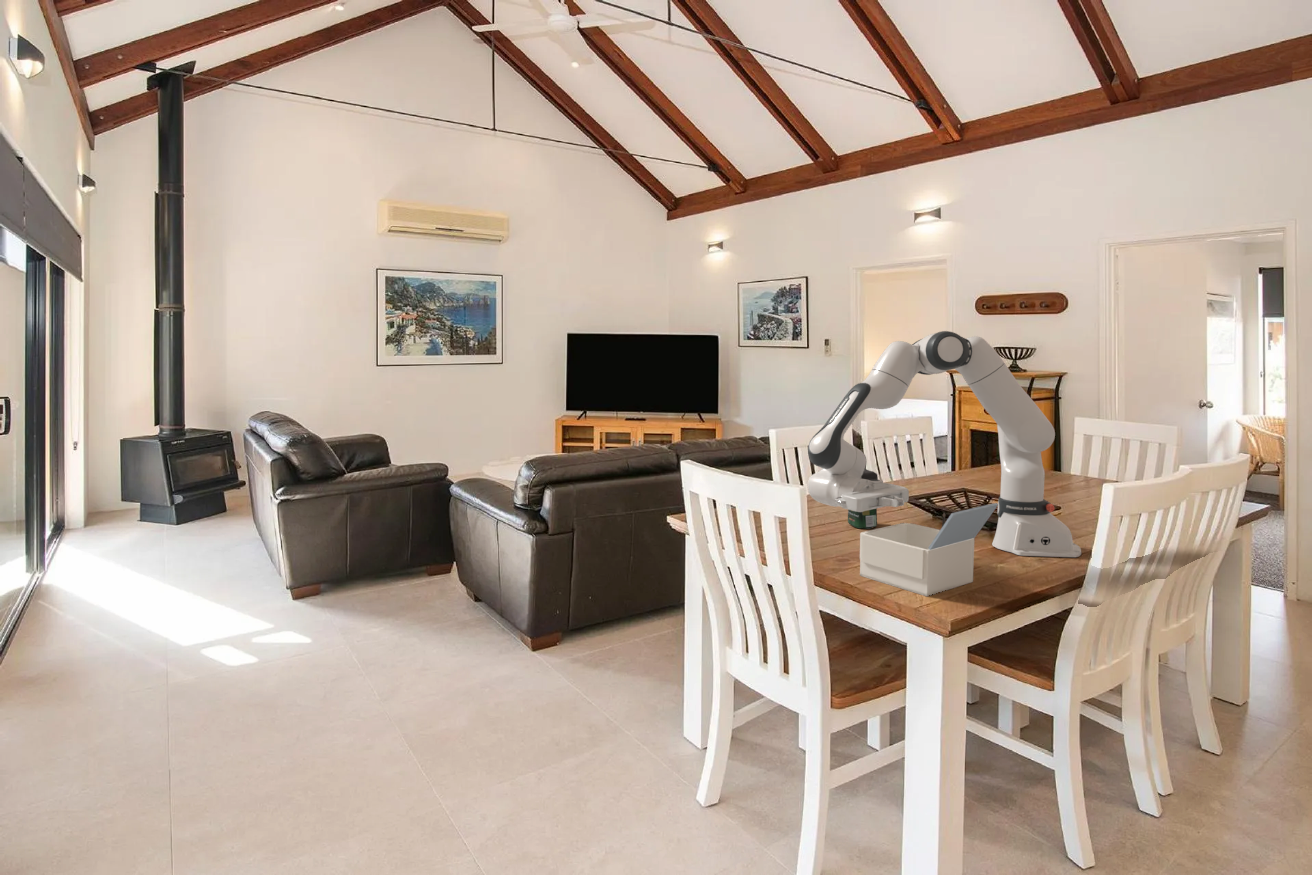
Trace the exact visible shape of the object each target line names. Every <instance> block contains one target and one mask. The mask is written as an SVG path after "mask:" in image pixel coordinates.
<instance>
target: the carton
mask: <svg viewBox="0 0 1312 875" xmlns="http://www.w3.org/2000/svg"><path fill="white" fill-rule="evenodd" d="M940 530H941V529H937V528H935V527H929V526H925V525H920V524H916V523H911V522H910V523H909V522H908V523H907V522H900V523H896V524H892V525H889V526H883V527H880V528H873V529H871V530H866V531H862V532H859V560H860V562H859V576H860V577H863V578H867V579H868V580H869V579H870V580H873V581H876V582H879V583H883V584H886V585H889V586H892V587H895V588H898V589H902V590H905V591H909V592H911V593H915V594H918V595H921V596H923V597H930V596H932V594H933V595H936V593H937V594H939V593H938V592H940V593H943V592H946V591H948V590H951V589H955V588H958V587H961V586H963V585H964V586H965V585H967V584H972V583H973V582H974V564H975V562H974V560H975V538H972V539H969V540H965V541H961V542H958V543H954V544H950V545H946V546H943V547H939V548H935V549H932V550H930V549H929V546H930V545H931V543H932V542H933V540H934V539H935V537H936V536H937V534H938V533H939V531H940ZM945 590H946V591H945ZM942 591H943V592H942ZM929 595H930V596H929Z"/></svg>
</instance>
